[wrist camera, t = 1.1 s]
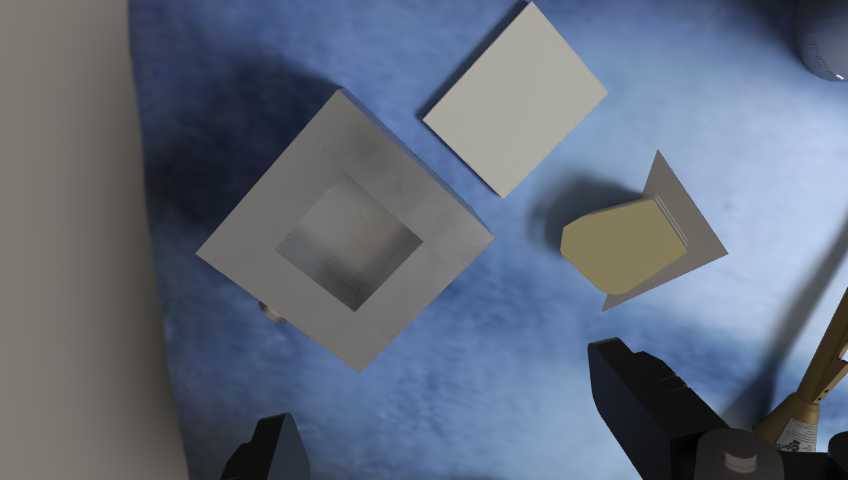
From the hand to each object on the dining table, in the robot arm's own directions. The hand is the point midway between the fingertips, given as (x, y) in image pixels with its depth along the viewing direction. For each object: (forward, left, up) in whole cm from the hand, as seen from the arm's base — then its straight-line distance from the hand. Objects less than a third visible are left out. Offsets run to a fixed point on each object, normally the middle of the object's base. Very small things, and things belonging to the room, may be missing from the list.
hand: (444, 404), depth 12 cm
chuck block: (+3, -2, -22) cm, 22 cm away
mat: (-10, +1, -22) cm, 25 cm away
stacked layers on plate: (-10, +15, -23) cm, 29 cm away
